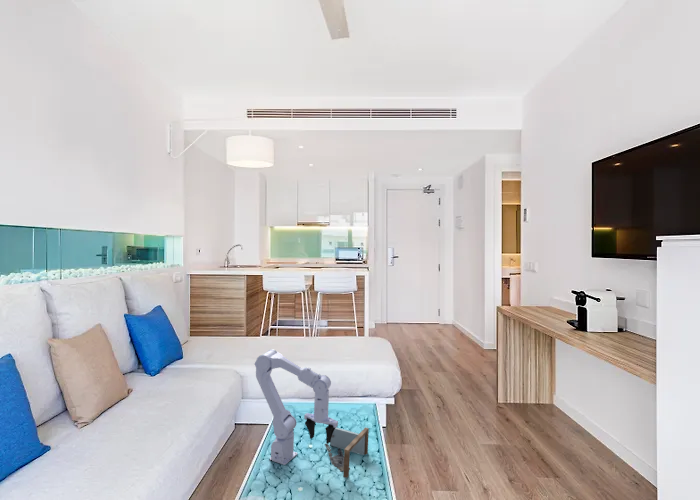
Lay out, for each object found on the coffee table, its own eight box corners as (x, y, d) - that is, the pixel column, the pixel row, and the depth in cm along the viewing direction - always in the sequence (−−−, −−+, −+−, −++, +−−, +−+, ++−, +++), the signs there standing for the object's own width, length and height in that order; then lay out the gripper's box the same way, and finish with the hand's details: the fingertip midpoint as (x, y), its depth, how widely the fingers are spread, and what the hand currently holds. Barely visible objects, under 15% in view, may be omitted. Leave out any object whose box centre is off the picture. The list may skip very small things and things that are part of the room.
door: (328, 446, 176) (329, 428, 176) (331, 444, 178) (331, 426, 178) (362, 456, 169) (362, 437, 169) (364, 453, 171) (365, 435, 171)
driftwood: (350, 472, 159) (350, 467, 159) (333, 474, 158) (334, 469, 158) (339, 445, 179) (339, 441, 179) (324, 447, 178) (324, 442, 178)
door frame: (347, 477, 155) (348, 450, 154) (343, 476, 155) (344, 449, 155) (367, 453, 173) (368, 428, 172) (364, 452, 173) (365, 427, 173)
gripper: (341, 407, 164) (340, 440, 164) (311, 399, 170) (310, 431, 170) (333, 414, 157) (332, 448, 158) (302, 406, 164) (300, 438, 164)
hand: (320, 440), depth 164 cm, fingers open, 7 cm apart
